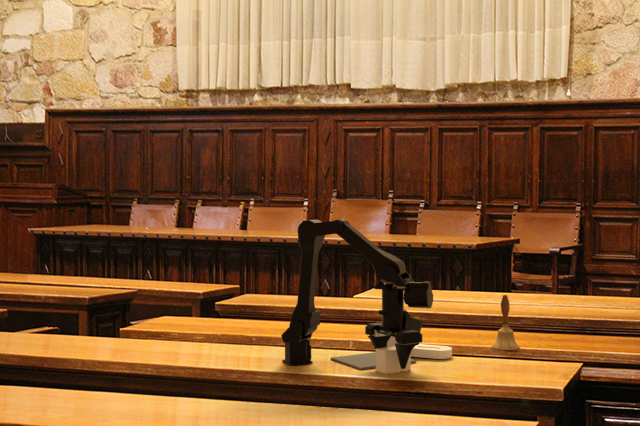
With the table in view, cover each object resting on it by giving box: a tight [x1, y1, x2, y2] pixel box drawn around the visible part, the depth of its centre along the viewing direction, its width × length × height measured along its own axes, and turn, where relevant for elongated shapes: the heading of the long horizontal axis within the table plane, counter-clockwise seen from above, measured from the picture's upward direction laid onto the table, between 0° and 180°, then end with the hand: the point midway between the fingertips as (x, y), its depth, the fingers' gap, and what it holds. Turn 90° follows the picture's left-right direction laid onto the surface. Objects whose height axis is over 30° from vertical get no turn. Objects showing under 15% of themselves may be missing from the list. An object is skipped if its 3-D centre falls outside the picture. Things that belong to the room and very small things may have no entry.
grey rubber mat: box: [330, 351, 417, 371], centre depth 226 cm, size 18×16×1 cm
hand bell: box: [491, 294, 521, 351], centre depth 245 cm, size 8×8×16 cm
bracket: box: [387, 330, 453, 360], centre depth 234 cm, size 20×9×7 cm, turn 71°
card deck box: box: [375, 346, 412, 375], centre depth 214 cm, size 8×4×6 cm, turn 119°
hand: (393, 365), depth 214 cm, fingers open, 9 cm apart
